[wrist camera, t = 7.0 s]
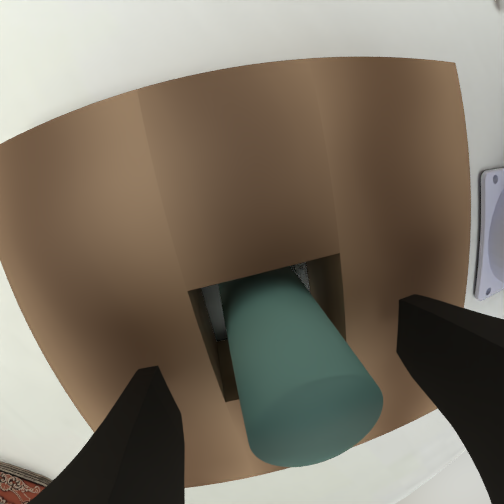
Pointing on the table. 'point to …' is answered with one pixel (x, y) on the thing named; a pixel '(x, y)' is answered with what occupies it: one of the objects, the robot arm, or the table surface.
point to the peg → (294, 372)
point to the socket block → (237, 228)
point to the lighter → (19, 484)
